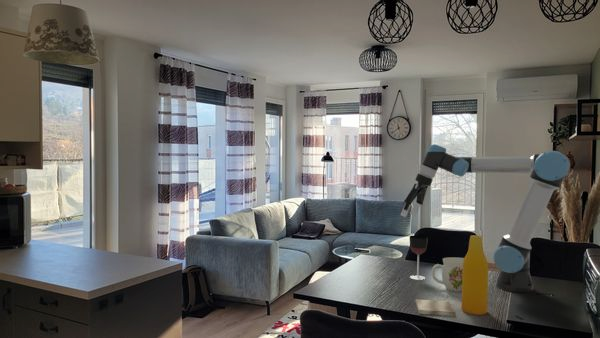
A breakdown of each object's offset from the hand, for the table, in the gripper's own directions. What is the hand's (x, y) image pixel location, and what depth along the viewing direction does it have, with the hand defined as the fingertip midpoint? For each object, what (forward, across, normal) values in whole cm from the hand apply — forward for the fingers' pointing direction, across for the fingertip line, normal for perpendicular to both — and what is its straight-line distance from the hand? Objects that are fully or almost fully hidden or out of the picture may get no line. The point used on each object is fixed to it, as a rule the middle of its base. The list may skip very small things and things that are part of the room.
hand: (407, 215), depth 209 cm
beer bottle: (+17, +26, +46) cm, 56 cm away
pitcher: (+20, +3, +33) cm, 39 cm away
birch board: (+22, +33, +34) cm, 52 cm away
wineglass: (+27, -6, +15) cm, 31 cm away
